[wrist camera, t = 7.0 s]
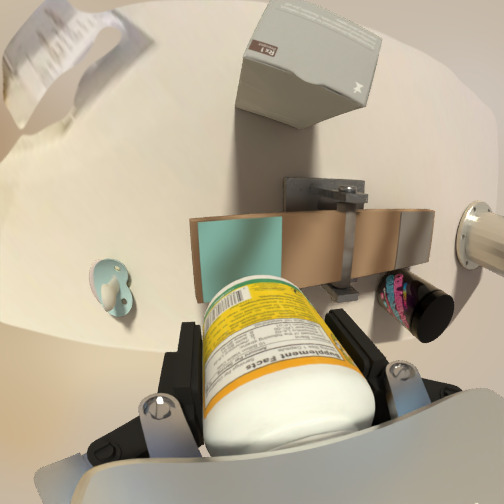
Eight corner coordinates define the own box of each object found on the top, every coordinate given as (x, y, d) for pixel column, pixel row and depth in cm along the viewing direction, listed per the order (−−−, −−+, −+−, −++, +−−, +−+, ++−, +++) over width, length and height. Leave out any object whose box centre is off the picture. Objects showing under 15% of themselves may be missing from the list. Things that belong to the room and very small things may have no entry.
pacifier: (98, 307, 32) (138, 307, 32) (79, 332, 26) (123, 334, 26) (86, 255, 30) (128, 252, 30) (62, 272, 24) (108, 270, 24)
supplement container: (395, 256, 35) (444, 284, 25) (416, 281, 37) (459, 309, 27) (367, 293, 36) (408, 330, 26) (389, 314, 38) (428, 350, 28)
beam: (425, 202, 31) (436, 205, 29) (418, 263, 33) (428, 268, 32) (188, 208, 22) (190, 211, 20) (196, 302, 25) (199, 312, 23)
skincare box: (315, 86, 27) (391, 35, 12) (298, 137, 29) (373, 112, 14) (248, 60, 26) (279, -20, 10) (227, 112, 27) (242, 55, 12)
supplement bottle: (205, 267, 12) (207, 481, 3) (319, 274, 13) (457, 420, 4) (201, 363, 13) (208, 538, 4) (298, 363, 14) (367, 511, 5)
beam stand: (360, 180, 31) (398, 185, 24) (353, 278, 35) (384, 304, 28) (283, 177, 30) (306, 180, 22) (282, 285, 34) (300, 316, 26)
